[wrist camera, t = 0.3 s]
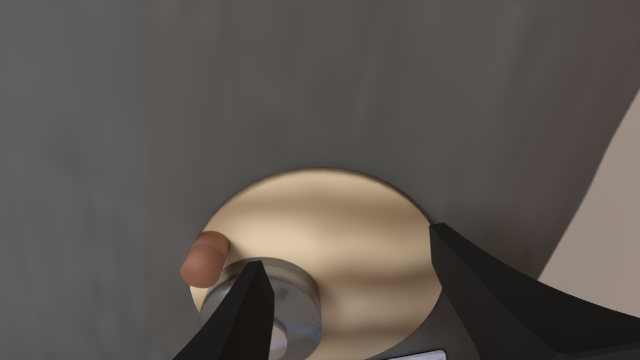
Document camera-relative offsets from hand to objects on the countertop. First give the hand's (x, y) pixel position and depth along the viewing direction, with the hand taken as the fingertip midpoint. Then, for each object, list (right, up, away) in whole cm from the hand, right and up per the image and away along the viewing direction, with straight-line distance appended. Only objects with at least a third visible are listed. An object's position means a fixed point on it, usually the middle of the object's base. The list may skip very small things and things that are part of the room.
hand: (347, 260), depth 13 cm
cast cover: (-6, -6, +12) cm, 15 cm away
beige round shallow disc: (-1, -4, +13) cm, 14 cm away
